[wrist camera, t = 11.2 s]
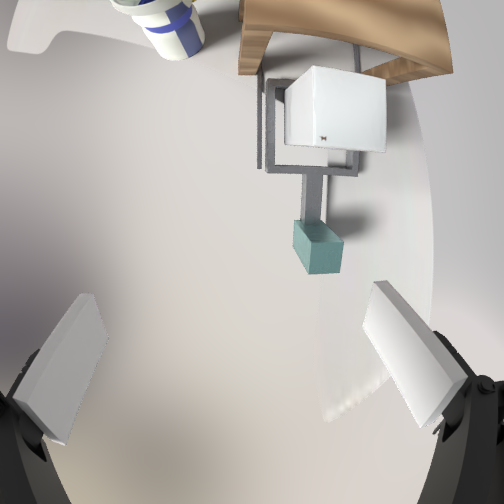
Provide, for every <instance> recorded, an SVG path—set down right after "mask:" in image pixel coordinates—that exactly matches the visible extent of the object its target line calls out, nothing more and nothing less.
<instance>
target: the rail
mask: <svg viewBox="0 0 504 504" xmlns="http://www.w3.org/2000/svg"><path fill="white" fill-rule="evenodd" d="M353 44H354V43H353ZM354 59H355V73H359V74H360V68H359V51H358V44H354ZM261 159H262V60H261V62H260V65H259V67H258V70H257V169H261V168H262V167H261V165H262V162H261V161H262V160H261ZM358 169H359V164H358Z"/></svg>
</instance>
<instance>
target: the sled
mask: <svg viewBox="0 0 504 504" xmlns="http://www.w3.org/2000/svg"><path fill="white" fill-rule="evenodd" d="M295 81H296V80H288V79H271V78H268V79H267V81H266V153H265V157H266V158H265V171H266V172H267V173H288V174H293V173H294V174H302V198H301V218H300V220H294V235H293V236H294V237H293V247H294V249H295V251H296V253H297V255H298V256H299V258H300V260H301V262H302V264H303V265H304V267H305V269H306V271H307V272H308V274H327V273H340V267H341V260H342V253H343V245H344V242H343V241H342V240H341V239H340V238H339V237H338V236H337V235H336V234H335V233H334V232H333V231H332V230H331V229H330V228H329V227H328V226H327V225H326V224H325V223H324V222H322V221H321V220H320V215H321V201H322V185H323V175H339V176H354V177H358V164H359V151H353V150H347V158H346V168H338V167H321V166H299V165H275V88H277V89H287V88H288V87H289V86H290V85H291V84H293V83H294V82H295Z"/></svg>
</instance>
